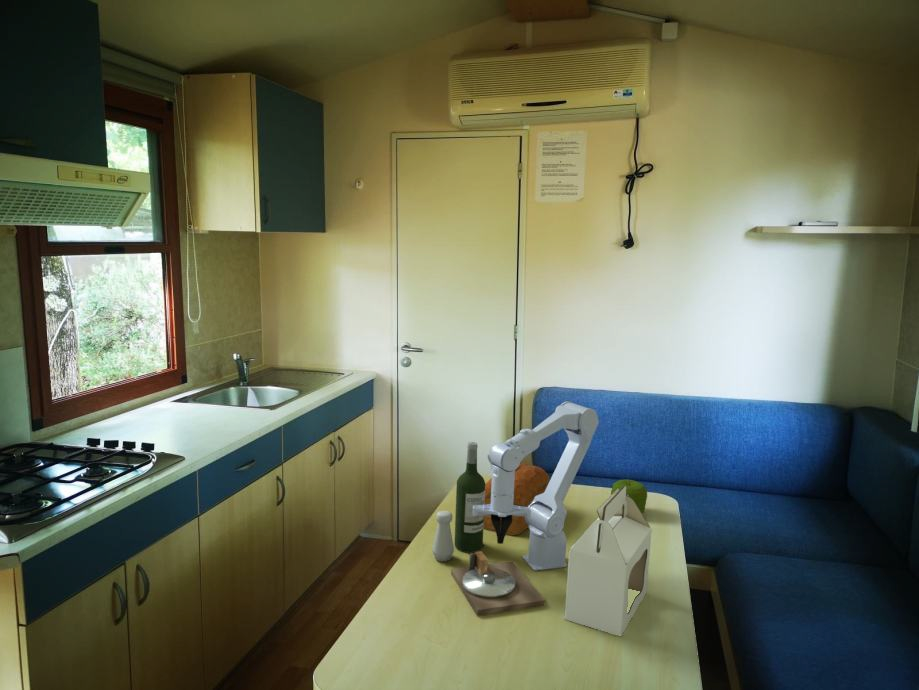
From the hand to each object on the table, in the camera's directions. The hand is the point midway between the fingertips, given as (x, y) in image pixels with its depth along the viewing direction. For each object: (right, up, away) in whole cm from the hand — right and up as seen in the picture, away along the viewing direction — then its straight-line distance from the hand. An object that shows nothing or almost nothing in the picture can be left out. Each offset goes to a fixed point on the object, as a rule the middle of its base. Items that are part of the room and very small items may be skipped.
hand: (500, 542), depth 178 cm
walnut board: (-1, -10, -5) cm, 12 cm away
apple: (+43, -4, +45) cm, 62 cm away
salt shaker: (-15, -7, +10) cm, 20 cm away
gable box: (+25, -13, -11) cm, 30 cm away
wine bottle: (-8, -6, +18) cm, 21 cm away
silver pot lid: (-3, -9, -5) cm, 10 cm away
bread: (+7, -3, +39) cm, 40 cm away
